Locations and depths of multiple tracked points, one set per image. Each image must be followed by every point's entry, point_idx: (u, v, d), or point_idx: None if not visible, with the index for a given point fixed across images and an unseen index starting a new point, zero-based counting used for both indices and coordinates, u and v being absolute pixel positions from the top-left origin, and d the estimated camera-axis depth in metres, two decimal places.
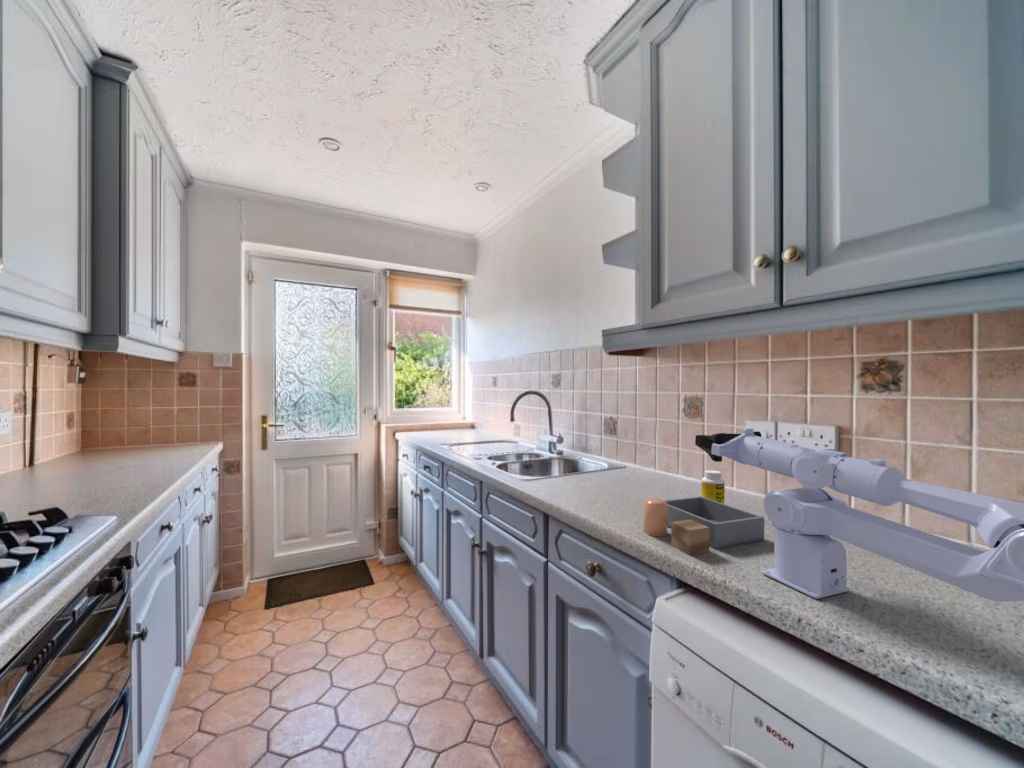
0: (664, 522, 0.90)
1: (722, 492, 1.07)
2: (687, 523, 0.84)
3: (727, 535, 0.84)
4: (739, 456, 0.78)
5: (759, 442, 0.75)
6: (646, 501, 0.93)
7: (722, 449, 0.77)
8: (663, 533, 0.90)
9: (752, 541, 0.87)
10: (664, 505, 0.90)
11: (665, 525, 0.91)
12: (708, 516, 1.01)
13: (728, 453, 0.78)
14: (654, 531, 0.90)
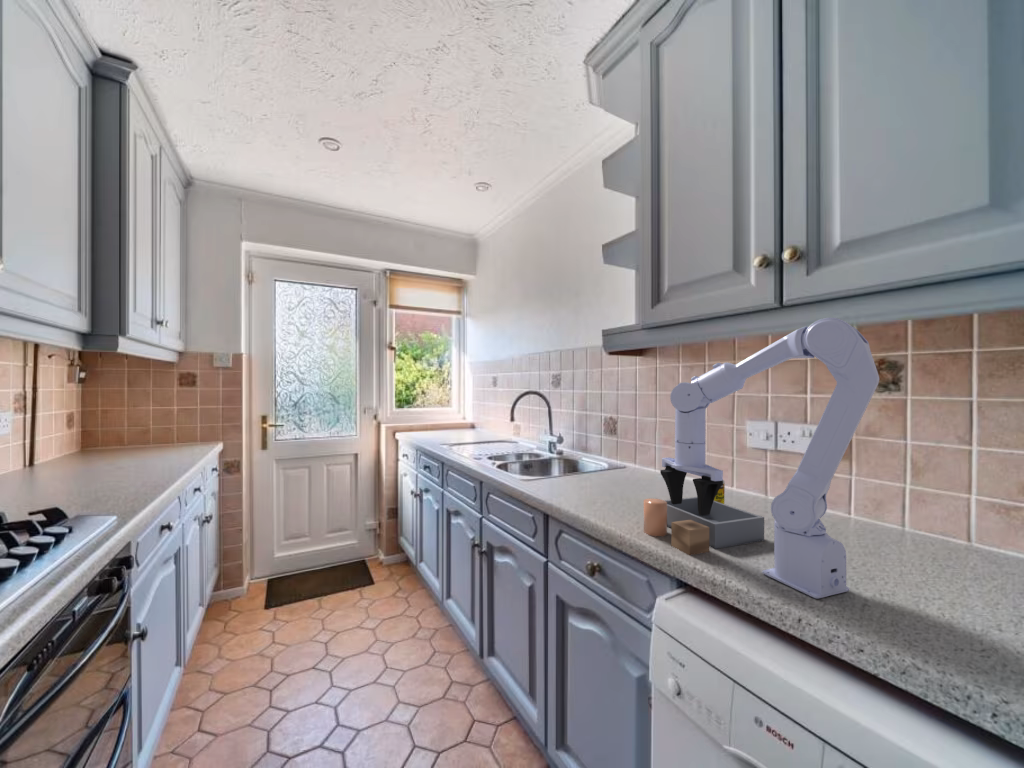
0: (664, 522, 0.90)
1: (722, 492, 1.07)
2: (687, 523, 0.84)
3: (727, 535, 0.84)
4: (704, 463, 0.81)
5: (687, 447, 0.81)
6: (646, 501, 0.93)
7: (714, 471, 0.77)
8: (663, 533, 0.90)
9: (752, 541, 0.87)
10: (664, 505, 0.90)
11: (665, 525, 0.91)
12: (708, 516, 1.01)
13: (711, 469, 0.79)
14: (654, 531, 0.90)
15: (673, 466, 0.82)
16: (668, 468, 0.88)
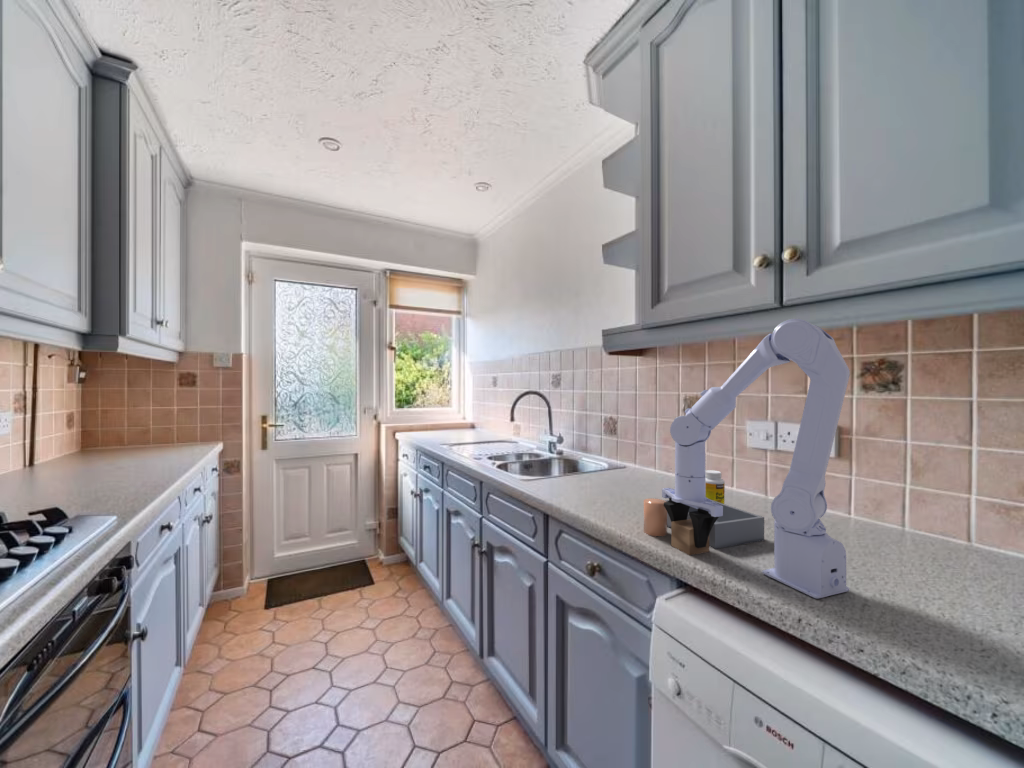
0: (664, 522, 0.90)
1: (722, 492, 1.07)
2: (687, 523, 0.84)
3: (727, 535, 0.84)
4: (704, 497, 0.81)
5: (687, 481, 0.81)
6: (646, 501, 0.93)
7: None
8: (663, 533, 0.90)
9: (752, 541, 0.87)
10: None
11: (665, 525, 0.91)
12: None
13: (711, 503, 0.79)
14: (654, 531, 0.90)
15: (673, 499, 0.82)
16: None
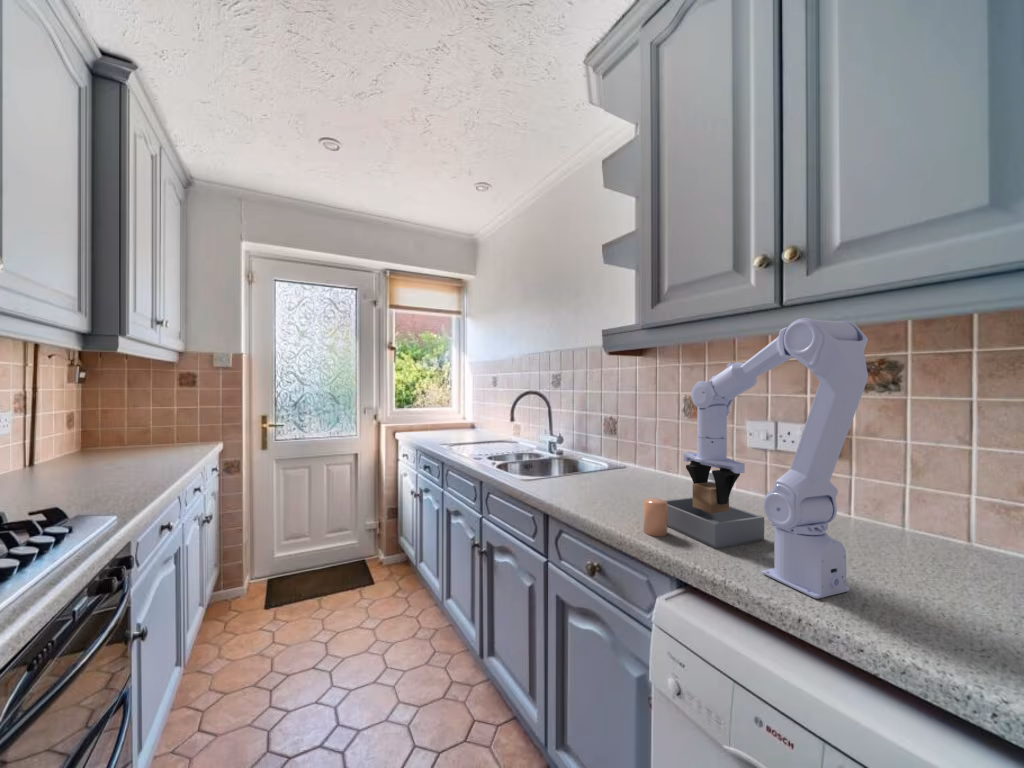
0: (664, 522, 0.90)
1: None
2: (707, 485, 0.89)
3: (727, 535, 0.84)
4: (726, 457, 0.87)
5: (710, 442, 0.86)
6: (646, 501, 0.93)
7: (736, 464, 0.83)
8: (663, 533, 0.90)
9: (752, 541, 0.87)
10: (664, 505, 0.90)
11: (665, 525, 0.91)
12: (708, 516, 1.01)
13: (732, 462, 0.84)
14: (654, 530, 0.90)
15: (696, 460, 0.87)
16: None
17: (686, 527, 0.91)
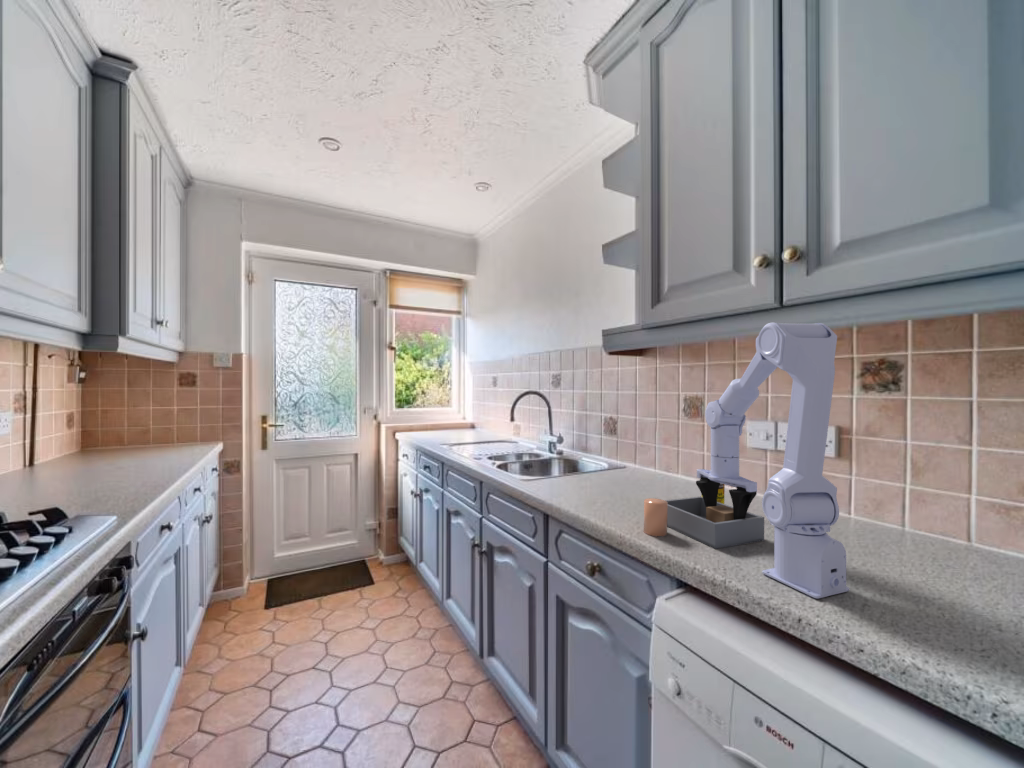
0: (664, 522, 0.90)
1: (722, 492, 1.07)
2: (721, 508, 0.92)
3: (727, 535, 0.84)
4: (738, 475, 0.90)
5: (723, 461, 0.89)
6: (646, 501, 0.93)
7: (748, 482, 0.86)
8: (663, 533, 0.90)
9: (752, 541, 0.87)
10: (664, 505, 0.90)
11: (665, 525, 0.91)
12: None
13: (745, 480, 0.87)
14: (653, 530, 0.90)
15: (710, 478, 0.91)
16: (703, 479, 0.96)
17: (686, 527, 0.91)
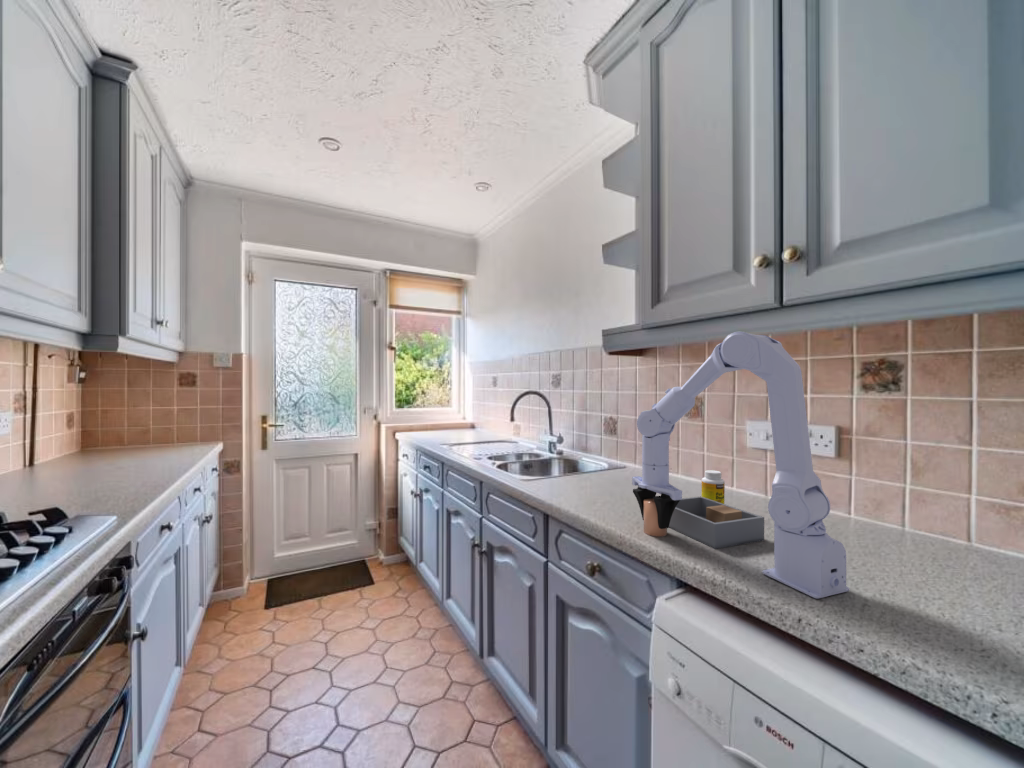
0: None
1: (722, 492, 1.07)
2: (721, 508, 0.92)
3: (727, 535, 0.84)
4: (667, 483, 0.91)
5: (652, 469, 0.90)
6: (646, 501, 0.93)
7: (674, 491, 0.87)
8: (662, 533, 0.90)
9: (752, 541, 0.87)
10: None
11: None
12: None
13: (672, 488, 0.88)
14: (653, 530, 0.90)
15: (640, 485, 0.91)
16: None
17: (686, 527, 0.91)
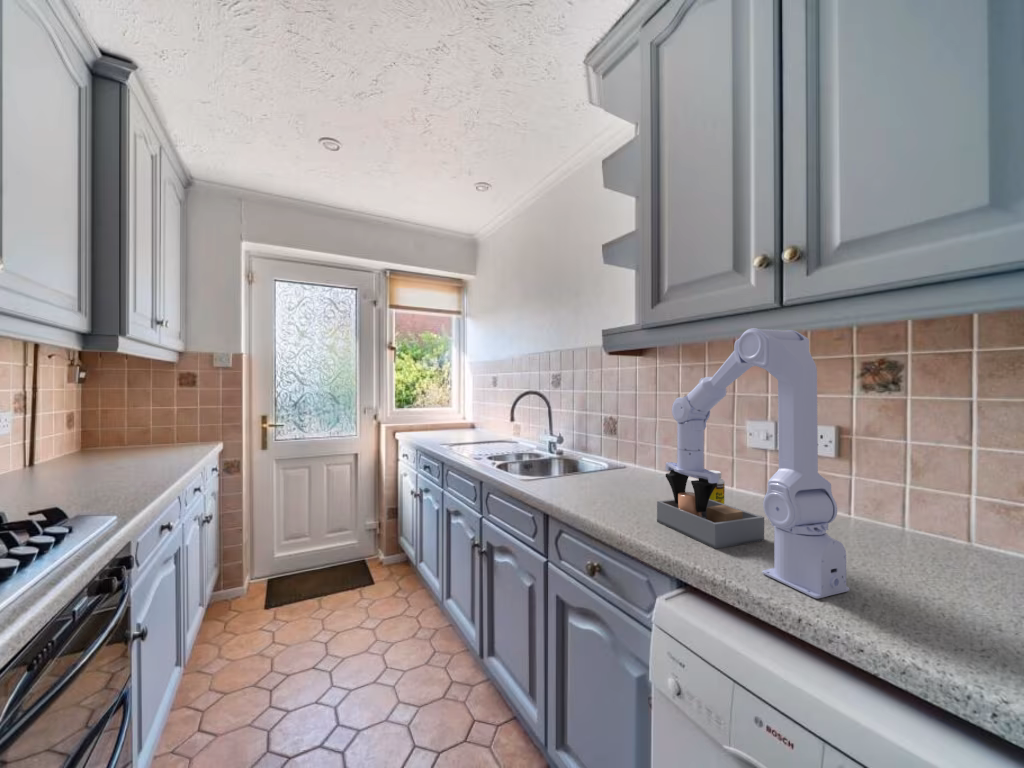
0: (699, 514, 0.94)
1: (722, 492, 1.07)
2: (721, 508, 0.92)
3: (727, 535, 0.84)
4: (702, 468, 0.94)
5: (688, 454, 0.94)
6: (680, 494, 0.96)
7: None
8: None
9: (752, 541, 0.87)
10: None
11: None
12: None
13: (708, 472, 0.92)
14: None
15: (675, 470, 0.95)
16: (671, 471, 1.01)
17: (686, 527, 0.91)
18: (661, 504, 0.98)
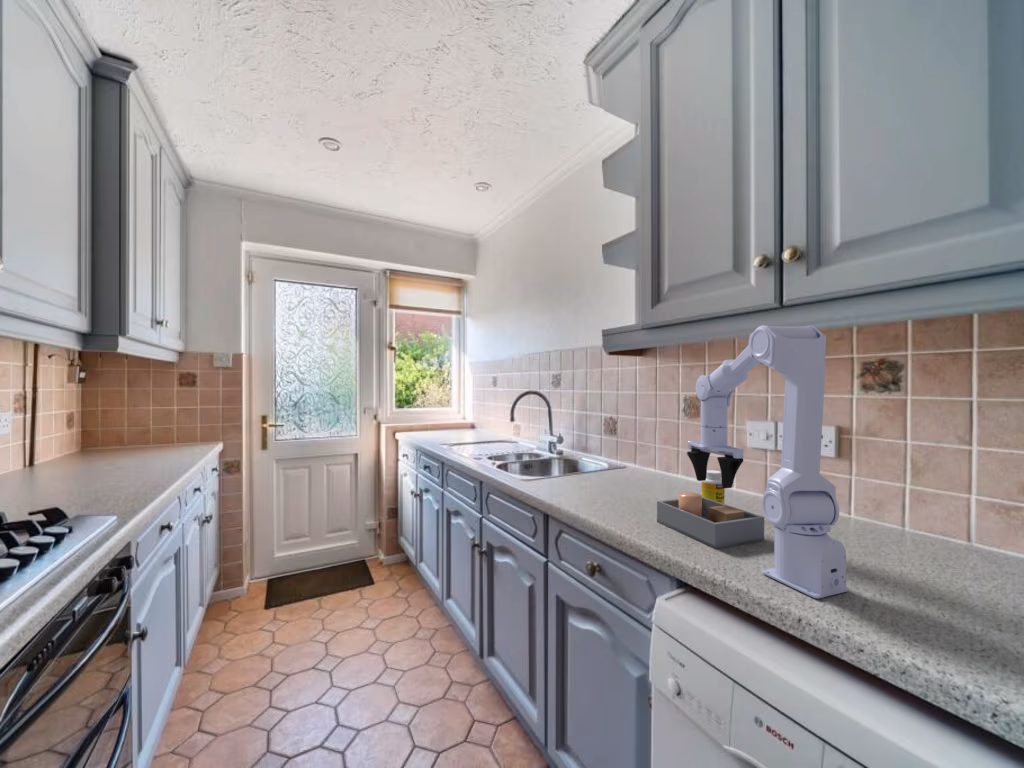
0: (699, 514, 0.94)
1: (722, 492, 1.07)
2: (723, 508, 0.92)
3: (727, 535, 0.84)
4: (726, 444, 0.95)
5: (712, 430, 0.95)
6: (681, 494, 0.96)
7: (735, 450, 0.91)
8: None
9: (752, 541, 0.87)
10: (699, 498, 0.94)
11: None
12: (708, 516, 1.01)
13: (732, 448, 0.93)
14: None
15: (699, 447, 0.96)
16: (694, 450, 1.02)
17: (686, 527, 0.91)
18: (661, 504, 0.98)
